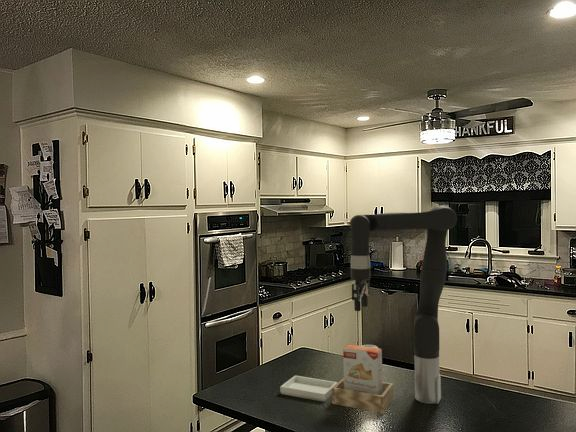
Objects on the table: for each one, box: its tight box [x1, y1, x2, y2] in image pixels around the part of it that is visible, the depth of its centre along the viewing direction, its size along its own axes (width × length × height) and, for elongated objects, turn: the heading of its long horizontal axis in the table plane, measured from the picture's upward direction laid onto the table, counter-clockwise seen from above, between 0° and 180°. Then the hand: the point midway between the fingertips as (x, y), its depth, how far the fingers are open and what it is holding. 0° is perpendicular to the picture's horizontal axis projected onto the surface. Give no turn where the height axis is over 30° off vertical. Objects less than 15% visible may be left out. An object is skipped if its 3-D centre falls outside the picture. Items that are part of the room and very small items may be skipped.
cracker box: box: [342, 344, 383, 395], centre depth 183 cm, size 14×6×21 cm, turn 62°
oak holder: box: [331, 377, 395, 414], centre depth 183 cm, size 20×14×6 cm
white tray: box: [279, 375, 339, 403], centre depth 194 cm, size 20×14×3 cm
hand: (361, 308), depth 182 cm, fingers open, 8 cm apart
